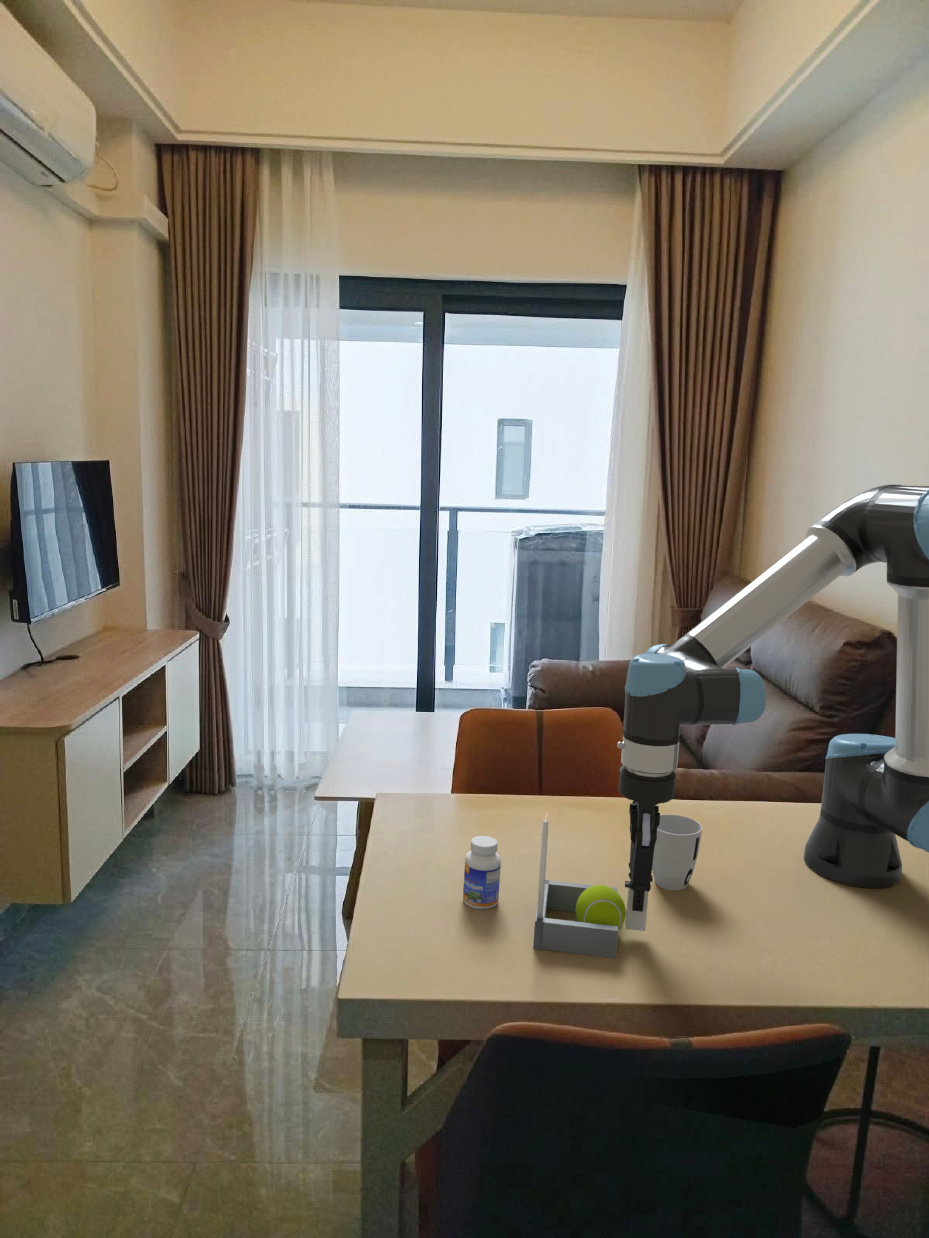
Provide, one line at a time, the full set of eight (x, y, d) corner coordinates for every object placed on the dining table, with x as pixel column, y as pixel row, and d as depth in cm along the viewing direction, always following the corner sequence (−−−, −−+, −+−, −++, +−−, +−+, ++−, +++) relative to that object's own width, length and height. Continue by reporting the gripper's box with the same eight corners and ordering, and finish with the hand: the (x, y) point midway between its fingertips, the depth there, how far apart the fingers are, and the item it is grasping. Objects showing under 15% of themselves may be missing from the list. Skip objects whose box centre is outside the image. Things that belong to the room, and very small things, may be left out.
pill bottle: (455, 900, 131) (457, 839, 129) (480, 889, 135) (483, 830, 133) (481, 914, 127) (484, 852, 126) (506, 902, 131) (509, 841, 129)
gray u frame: (614, 912, 129) (623, 798, 126) (616, 958, 117) (625, 832, 114) (539, 904, 131) (546, 790, 128) (533, 948, 119) (540, 824, 116)
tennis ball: (627, 948, 120) (631, 901, 118) (576, 945, 120) (579, 898, 119) (620, 922, 127) (623, 877, 125) (572, 919, 127) (575, 874, 126)
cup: (698, 898, 135) (703, 837, 133) (644, 891, 136) (649, 831, 135) (695, 874, 143) (700, 817, 141) (644, 868, 144) (649, 811, 142)
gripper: (619, 750, 125) (607, 901, 129) (621, 781, 113) (608, 948, 117) (672, 754, 124) (659, 907, 128) (680, 787, 112) (665, 955, 116)
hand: (635, 927), depth 123 cm, fingers closed
